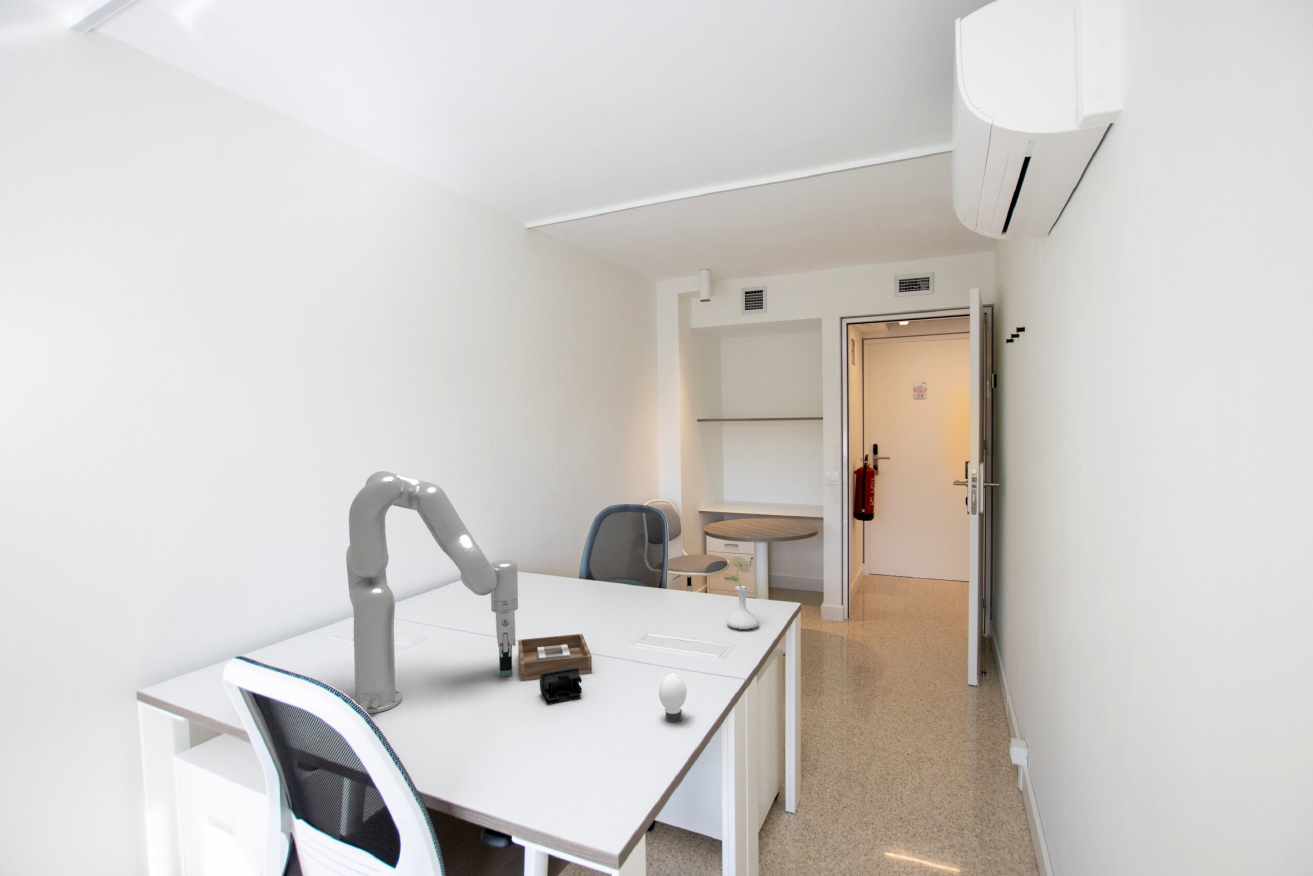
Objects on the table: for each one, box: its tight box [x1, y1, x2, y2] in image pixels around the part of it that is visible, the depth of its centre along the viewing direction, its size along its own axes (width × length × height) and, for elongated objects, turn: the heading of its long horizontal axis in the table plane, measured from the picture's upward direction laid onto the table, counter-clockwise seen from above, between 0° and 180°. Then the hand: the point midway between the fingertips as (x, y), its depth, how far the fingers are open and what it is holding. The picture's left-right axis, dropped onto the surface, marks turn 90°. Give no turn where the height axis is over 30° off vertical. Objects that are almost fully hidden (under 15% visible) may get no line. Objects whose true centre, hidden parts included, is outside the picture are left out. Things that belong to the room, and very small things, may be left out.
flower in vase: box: [725, 554, 760, 630], centre depth 220 cm, size 13×11×25 cm
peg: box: [498, 643, 513, 678], centre depth 180 cm, size 4×4×10 cm
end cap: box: [539, 667, 583, 706], centre depth 165 cm, size 10×7×7 cm
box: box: [517, 633, 593, 682], centre depth 188 cm, size 20×20×5 cm
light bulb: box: [658, 672, 687, 723], centre depth 152 cm, size 7×7×11 cm
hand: (505, 666), depth 180 cm, fingers closed on peg, 3 cm apart
